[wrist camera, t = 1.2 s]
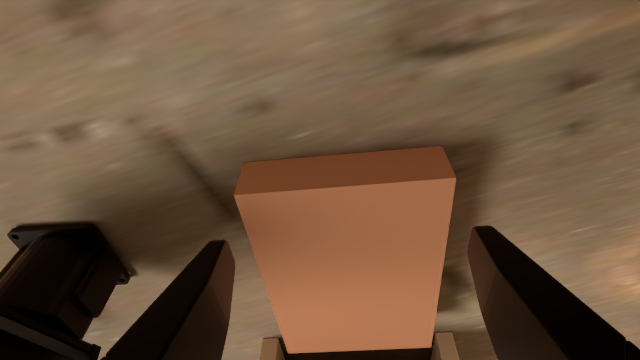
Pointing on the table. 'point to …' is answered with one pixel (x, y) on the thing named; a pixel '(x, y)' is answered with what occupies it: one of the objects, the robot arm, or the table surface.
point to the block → (351, 245)
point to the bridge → (442, 355)
